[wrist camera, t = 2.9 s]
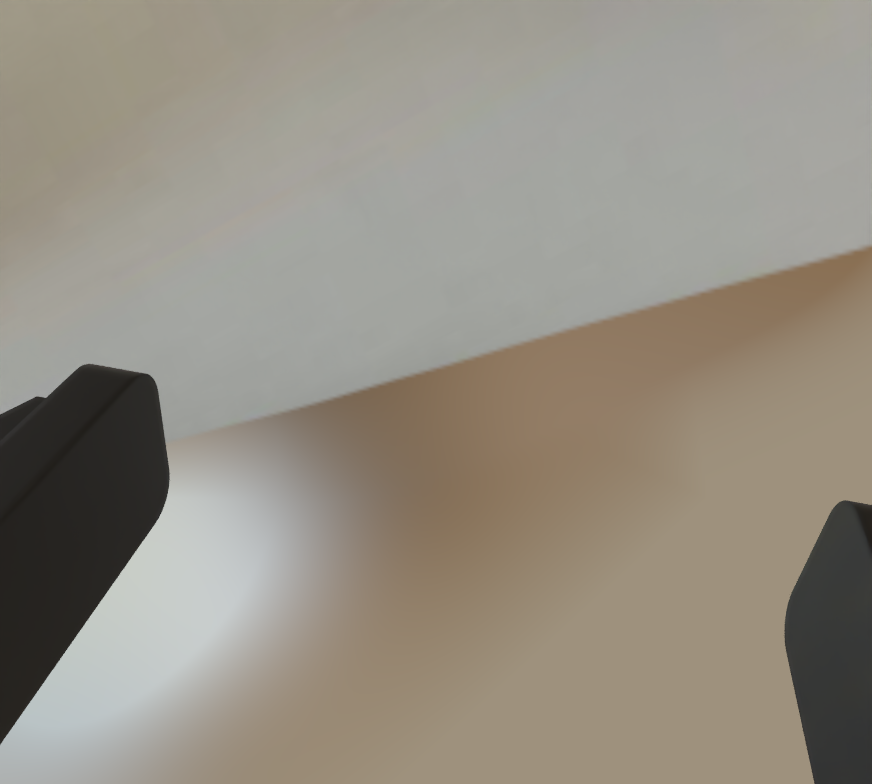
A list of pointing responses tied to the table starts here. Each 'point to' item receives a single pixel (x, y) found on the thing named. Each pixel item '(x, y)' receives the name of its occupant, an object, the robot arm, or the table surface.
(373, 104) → the table surface
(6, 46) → the table surface
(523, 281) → the table surface
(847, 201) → the table surface
